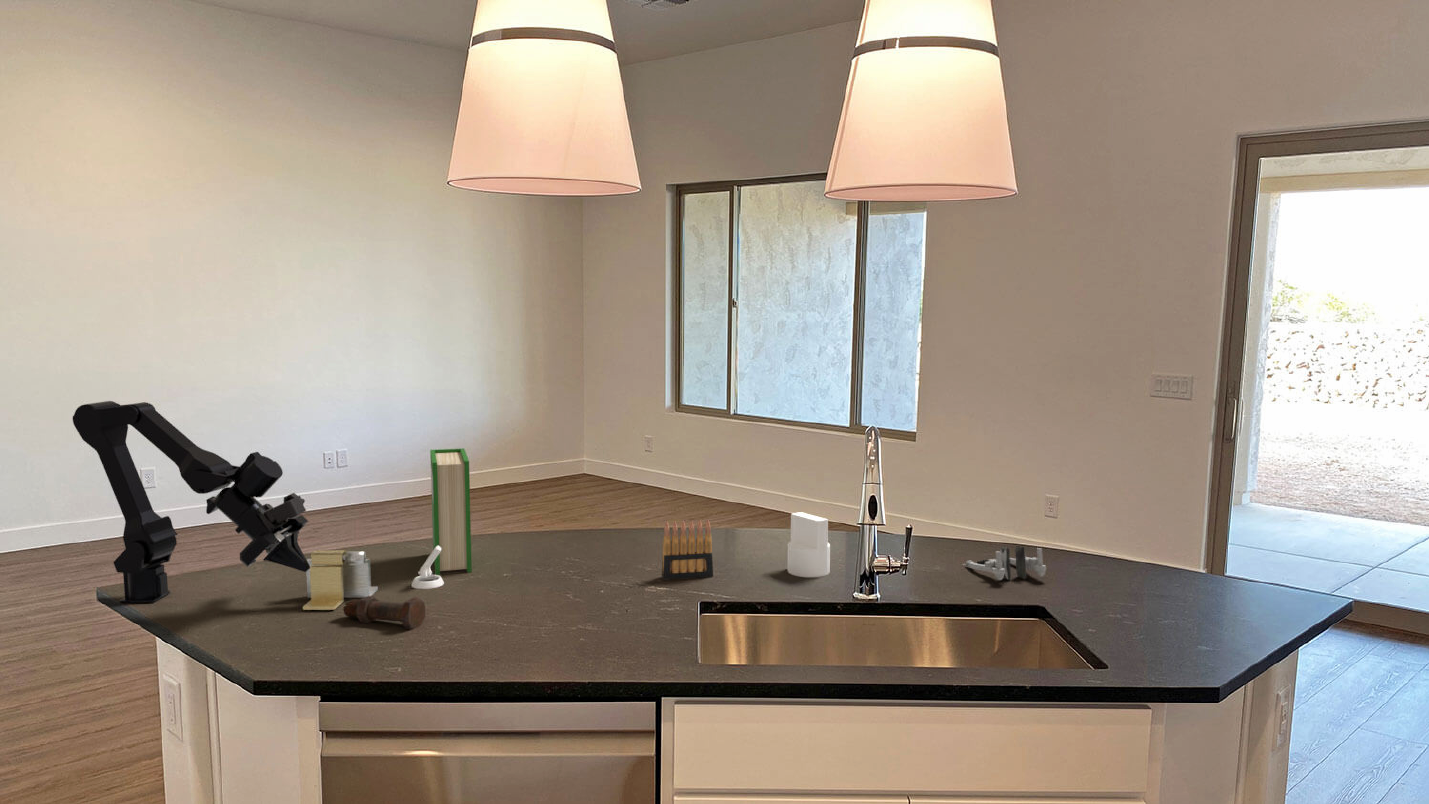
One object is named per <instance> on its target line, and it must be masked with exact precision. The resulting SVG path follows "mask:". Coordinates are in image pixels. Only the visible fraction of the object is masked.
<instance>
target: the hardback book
mask: <svg viewBox="0 0 1429 804" xmlns="http://www.w3.org/2000/svg"><path fill="white" fill-rule="evenodd" d="M429 451H430V453H429V454H430V481H431V482H430V485H431V489H430V490H431V491H430V492H431V520H432V521H431V524H432V525H431V526H432V551H433V550H434V549H435V547H436V546H438V545H439V546H440V547H441V552H440V553H439V555H438V556H437V557H436V559H435V560H434V562H433V564H434V572H435V574H434V575H439V576H441V572H445V571H457V570H459V571H460V570H466V573H472V571H473V570H472V568H473V567H472V566H473V565H472V531H471V528H472V527H471V526H472V525H471V524H472V523H471V522H472V521H471V492H470V491H471V489H470V488H471V486H470V485H471V484H470V479H471V478H470V460H469V457H468V453H466V450H465V448H443V449H441V448H440V449H430V450H429Z"/></svg>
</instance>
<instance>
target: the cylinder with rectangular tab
mask: <svg viewBox="0 0 1429 804" xmlns="http://www.w3.org/2000/svg"><path fill="white" fill-rule="evenodd" d="M828 536H829V519H827V518H825V517H822V516H817V515H813V514H809V513H806V512H803V511H800V512H799V511H798V512H793V513H790V541H788V543H787V573H788V574H790V575H792V576H795V577H801V578H819V577H825V576H828V575H829V574H830V571H831V569H830V568H831V565H830V564H831V563H830V561H831V544H830V543H829V541H828V539H829V537H828Z"/></svg>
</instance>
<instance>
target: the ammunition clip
mask: <svg viewBox="0 0 1429 804" xmlns="http://www.w3.org/2000/svg"><path fill="white" fill-rule="evenodd" d="M693 522H694V521H693V520H690V522H689V526H688V536H687V528H686V523H685V521H684V520H683V521H682V522H681V525H680V526H681V527H680V535H679V529H678V524H677V521H674V522H673V525H672V530H671V531H672V533H670V526H669V525H670V524H669V522H668V521H666V522H665V524H664V530H663V541H662V565H661V567H662V569H661V578H662V580H664V581H665V580H679V579H682V580H683V579H695V578H696V579H697V578H712V577H714V566H713V563H714V562H713V547H712V546H713V538H712V530H711V529H712V528H711V527H712V526H711V523H710V520H709V519H708V520H706V523H705V528H704V529H705V532H704V531H703V525H702V521H701V520H698V523H697V527H696V538H695V525H694V523H693ZM671 534H672V535H671ZM679 537H680V538H679ZM687 537H688V538H687Z"/></svg>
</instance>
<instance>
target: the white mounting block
mask: <svg viewBox="0 0 1429 804" xmlns="http://www.w3.org/2000/svg"><path fill="white" fill-rule="evenodd" d="M306 560H307V562H308V564H309V565H310V567H311V566H342V567H343V594H344V598H347V599H348V598H350V599H351V598H354V599H355V598H360V599H362V598H364V597H367V596H373V595H374V594H375V593H376V592H377V591H378V590H379V586H372V577H371V575H372V574H371V559H370V558H367V553H366V551H360V550H358V551H357V550H356V551H355V550H354V551H347V550H346V555H343V560H345V562H346V563H344V564H343V565H312V562H311V558H306ZM305 573H306V575H305V577H306V598H307V599H311V585H310V569H309V570H308V571H306V572H305Z"/></svg>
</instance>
